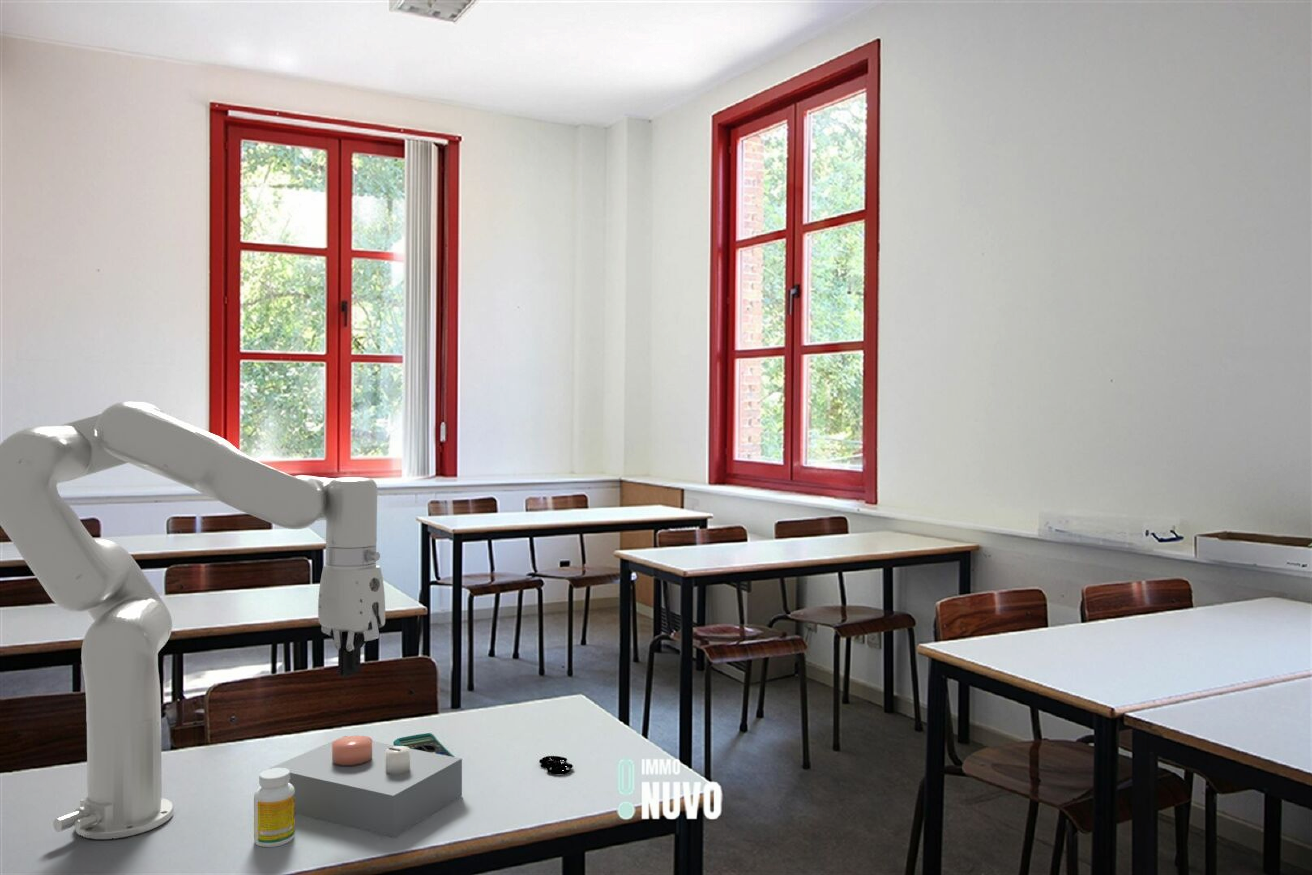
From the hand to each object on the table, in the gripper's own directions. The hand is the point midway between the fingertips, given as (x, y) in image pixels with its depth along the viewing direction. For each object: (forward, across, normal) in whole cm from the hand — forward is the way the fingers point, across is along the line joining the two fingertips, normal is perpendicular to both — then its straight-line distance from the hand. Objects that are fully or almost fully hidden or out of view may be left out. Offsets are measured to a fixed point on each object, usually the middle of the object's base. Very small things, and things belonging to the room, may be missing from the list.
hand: (349, 673), depth 147 cm
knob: (+14, -10, 0) cm, 17 cm away
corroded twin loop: (+20, -23, -26) cm, 39 cm away
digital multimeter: (+20, 0, -18) cm, 27 cm away
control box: (+20, -4, 0) cm, 20 cm away
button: (+16, -1, -1) cm, 16 cm away
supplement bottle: (+20, -1, +15) cm, 25 cm away
